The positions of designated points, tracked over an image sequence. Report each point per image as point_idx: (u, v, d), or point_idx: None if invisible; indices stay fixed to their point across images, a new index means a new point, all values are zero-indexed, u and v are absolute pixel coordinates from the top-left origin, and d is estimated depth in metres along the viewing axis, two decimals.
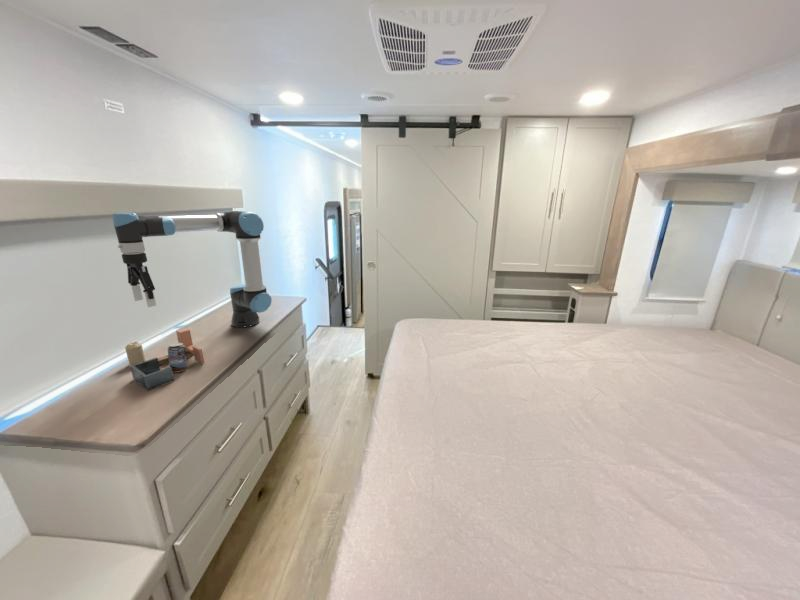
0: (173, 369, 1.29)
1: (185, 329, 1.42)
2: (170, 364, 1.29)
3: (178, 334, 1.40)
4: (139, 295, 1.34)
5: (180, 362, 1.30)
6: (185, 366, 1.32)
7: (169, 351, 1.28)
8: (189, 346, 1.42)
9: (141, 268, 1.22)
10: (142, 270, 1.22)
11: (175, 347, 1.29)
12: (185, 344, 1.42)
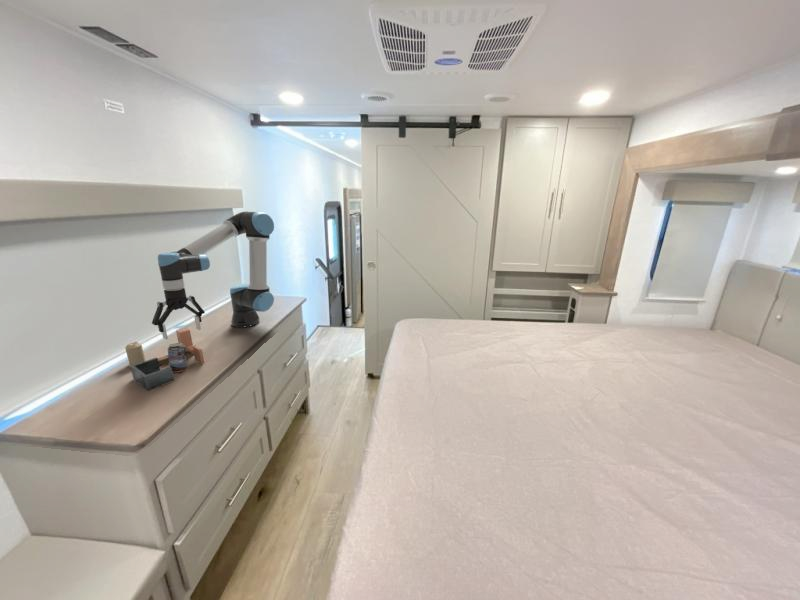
0: (173, 369, 1.29)
1: (185, 329, 1.42)
2: (170, 364, 1.29)
3: (178, 334, 1.40)
4: (197, 325, 1.46)
5: (180, 362, 1.30)
6: (185, 366, 1.32)
7: (169, 351, 1.28)
8: (189, 346, 1.42)
9: (157, 303, 1.32)
10: (158, 305, 1.32)
11: (175, 347, 1.29)
12: (185, 344, 1.42)
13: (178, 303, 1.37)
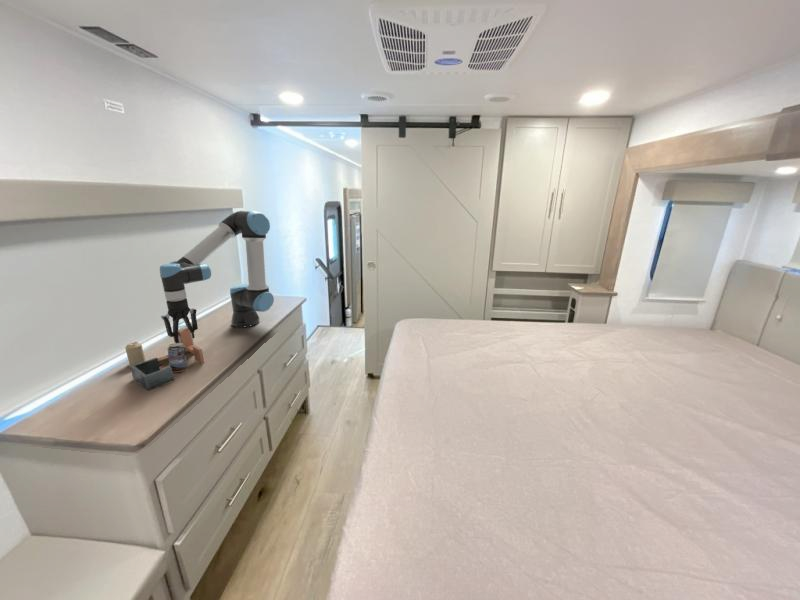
0: (173, 369, 1.29)
1: (185, 329, 1.42)
2: (170, 364, 1.29)
3: (178, 334, 1.40)
4: None
5: (180, 362, 1.30)
6: (185, 366, 1.32)
7: (169, 351, 1.28)
8: (189, 346, 1.42)
9: (162, 318, 1.34)
10: (163, 319, 1.35)
11: (175, 347, 1.29)
12: (185, 344, 1.42)
13: (180, 312, 1.38)
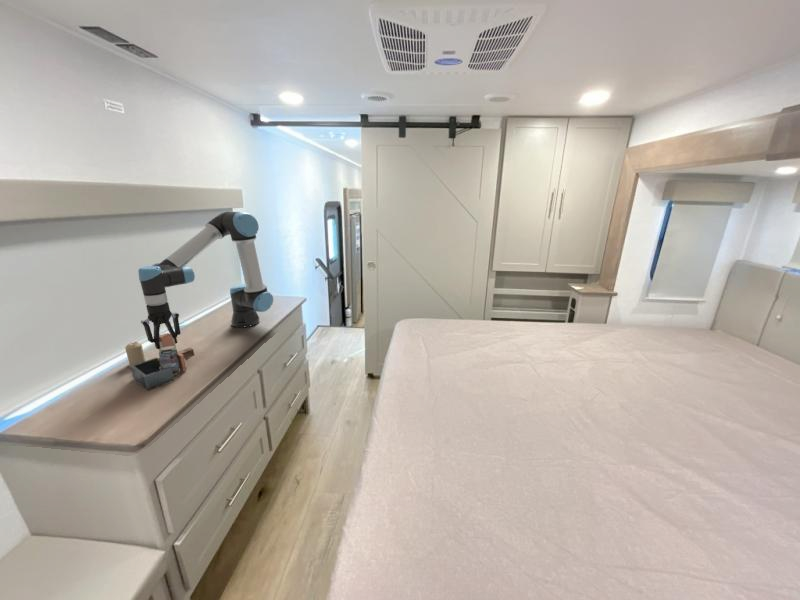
0: None
1: (167, 334, 1.37)
2: (162, 368, 1.26)
3: (159, 339, 1.35)
4: None
5: (173, 366, 1.27)
6: (178, 369, 1.30)
7: (161, 355, 1.25)
8: None
9: None
10: (143, 324, 1.29)
11: (167, 350, 1.26)
12: None
13: (161, 316, 1.33)
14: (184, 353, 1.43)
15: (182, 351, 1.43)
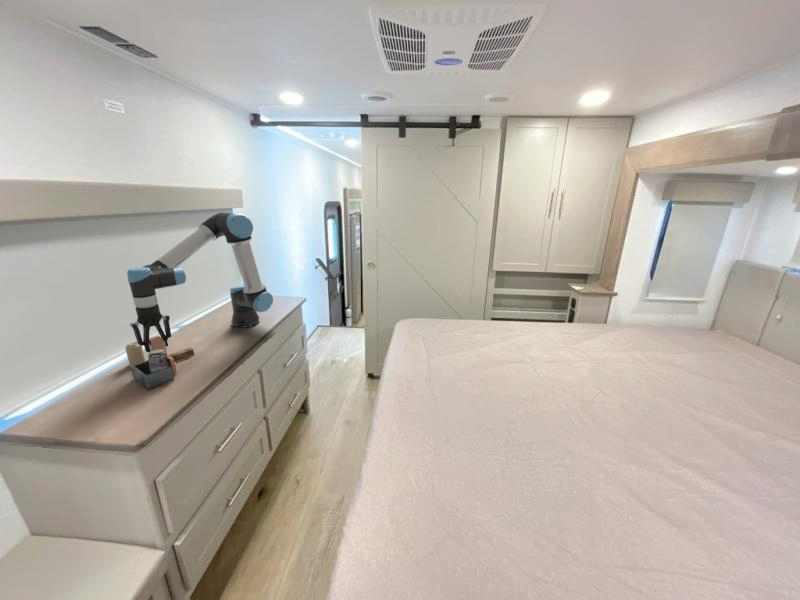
0: None
1: (157, 337, 1.34)
2: (151, 372, 1.23)
3: (149, 342, 1.32)
4: None
5: None
6: None
7: (150, 358, 1.22)
8: None
9: (130, 325, 1.26)
10: (132, 327, 1.26)
11: (156, 354, 1.23)
12: None
13: (151, 319, 1.30)
14: (184, 353, 1.43)
15: (182, 351, 1.43)
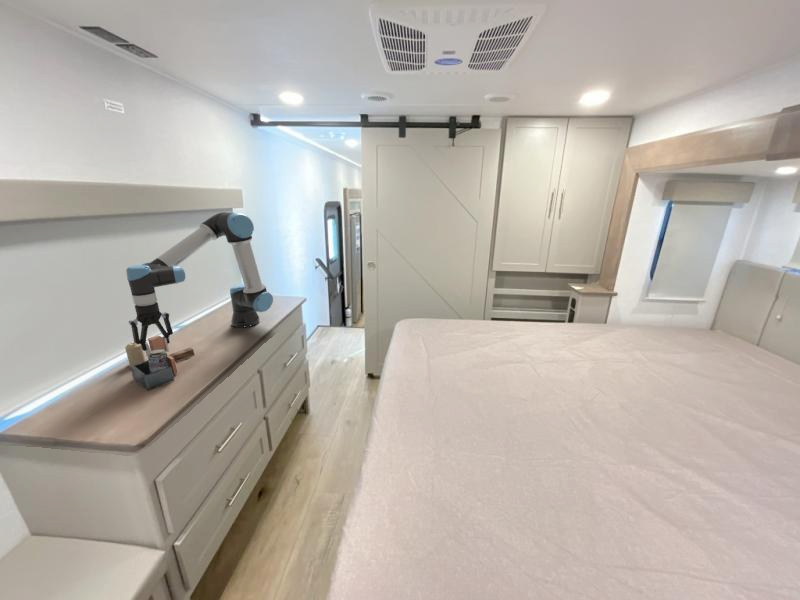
0: None
1: (158, 337, 1.34)
2: (151, 372, 1.23)
3: (150, 342, 1.32)
4: (165, 347, 1.36)
5: None
6: None
7: (150, 358, 1.22)
8: None
9: (129, 323, 1.25)
10: (130, 324, 1.25)
11: (156, 354, 1.23)
12: None
13: (150, 317, 1.29)
14: (184, 353, 1.43)
15: (182, 351, 1.43)
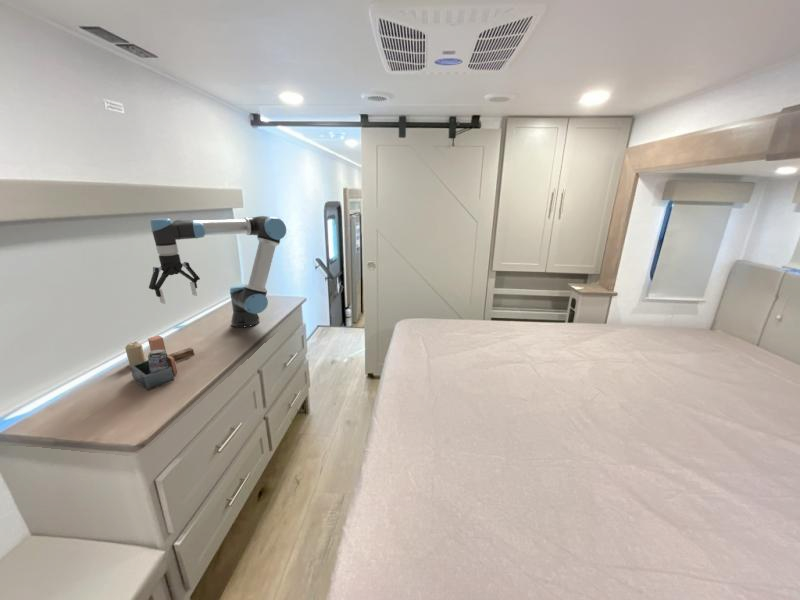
0: None
1: (158, 337, 1.34)
2: (151, 372, 1.23)
3: (150, 342, 1.32)
4: (193, 291, 1.50)
5: None
6: None
7: (150, 358, 1.22)
8: None
9: (153, 268, 1.36)
10: (153, 270, 1.36)
11: (156, 354, 1.23)
12: None
13: (173, 268, 1.41)
14: (184, 353, 1.43)
15: (182, 351, 1.43)
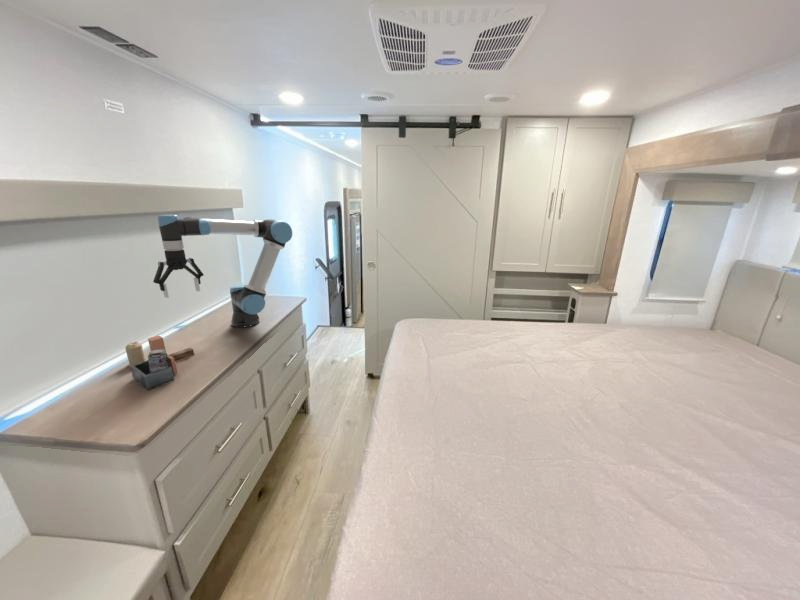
0: None
1: (158, 337, 1.34)
2: (151, 372, 1.23)
3: (150, 342, 1.32)
4: (196, 287, 1.53)
5: None
6: None
7: (150, 358, 1.22)
8: None
9: (158, 263, 1.39)
10: (159, 265, 1.39)
11: (156, 354, 1.23)
12: None
13: (178, 264, 1.44)
14: (184, 353, 1.43)
15: (182, 351, 1.43)
